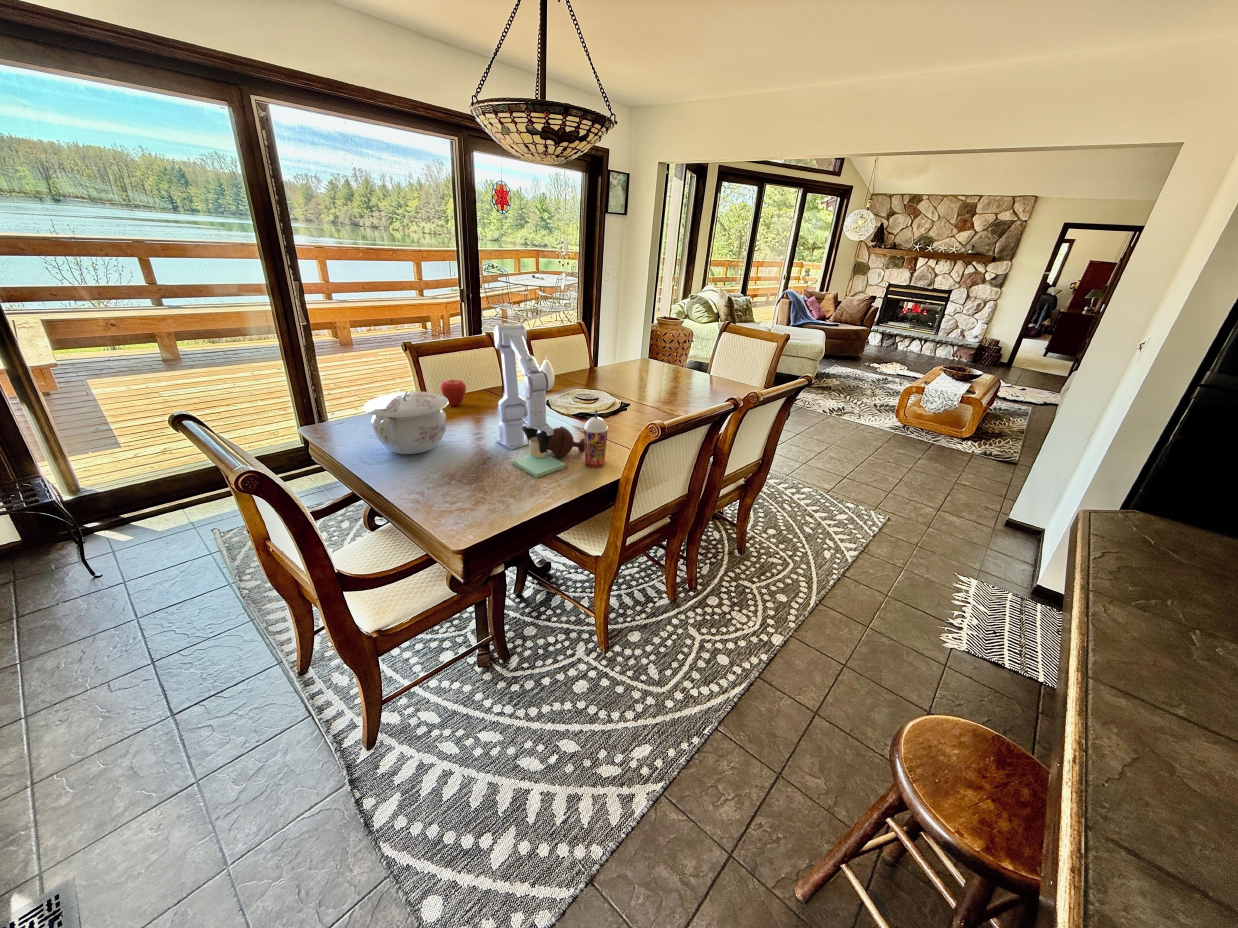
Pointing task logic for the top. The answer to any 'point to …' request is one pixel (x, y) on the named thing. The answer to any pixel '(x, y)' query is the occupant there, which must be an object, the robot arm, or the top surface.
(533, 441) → the beige cup
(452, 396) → the apple
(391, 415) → the chamber pot
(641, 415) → the top surface
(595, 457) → the smoothie
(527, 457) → the scale
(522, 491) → the top surface
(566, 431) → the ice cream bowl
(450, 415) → the top surface
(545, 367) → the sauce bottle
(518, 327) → the robot arm
